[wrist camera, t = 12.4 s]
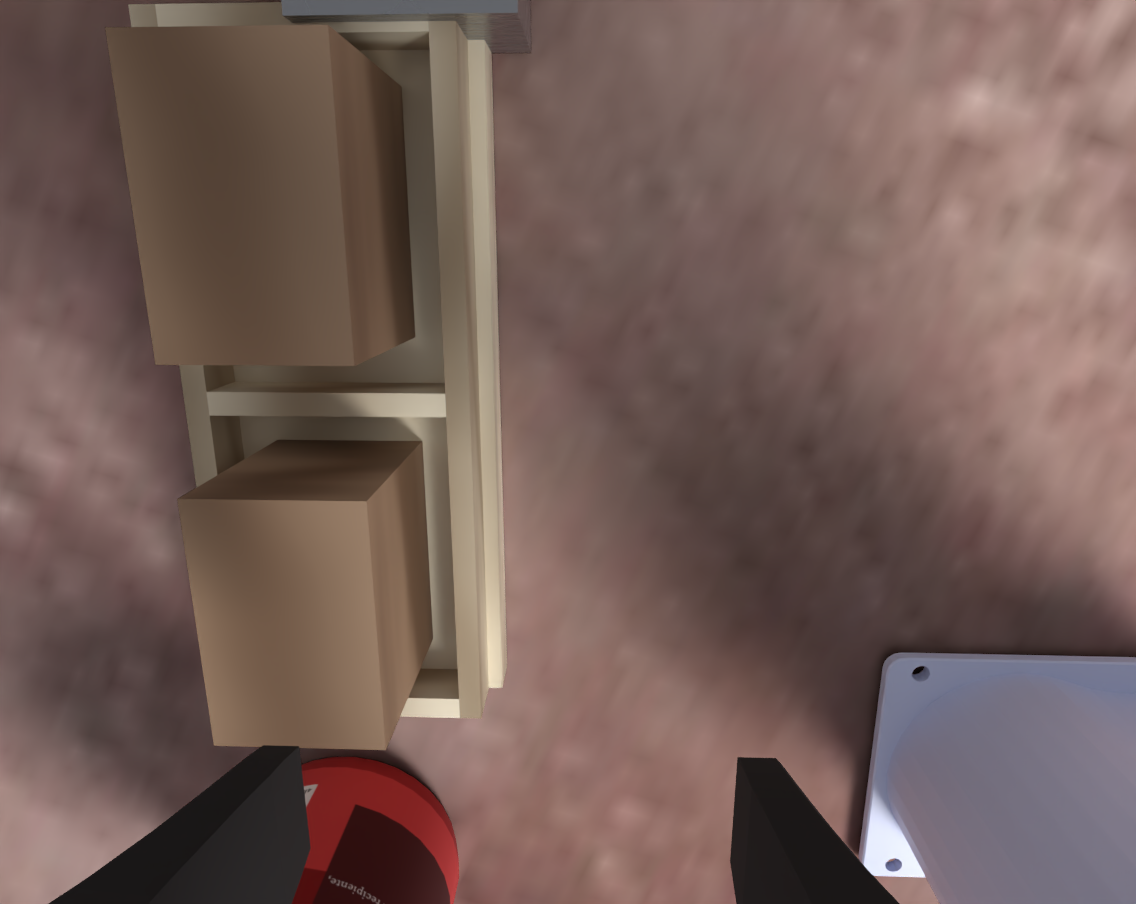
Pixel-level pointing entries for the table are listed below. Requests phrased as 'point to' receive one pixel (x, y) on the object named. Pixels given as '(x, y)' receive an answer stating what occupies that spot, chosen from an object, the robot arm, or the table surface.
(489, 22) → the button housing
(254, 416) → the wooden divided tray
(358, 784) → the canned food
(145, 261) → the block
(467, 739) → the table surface
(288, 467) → the seated walnut billet
